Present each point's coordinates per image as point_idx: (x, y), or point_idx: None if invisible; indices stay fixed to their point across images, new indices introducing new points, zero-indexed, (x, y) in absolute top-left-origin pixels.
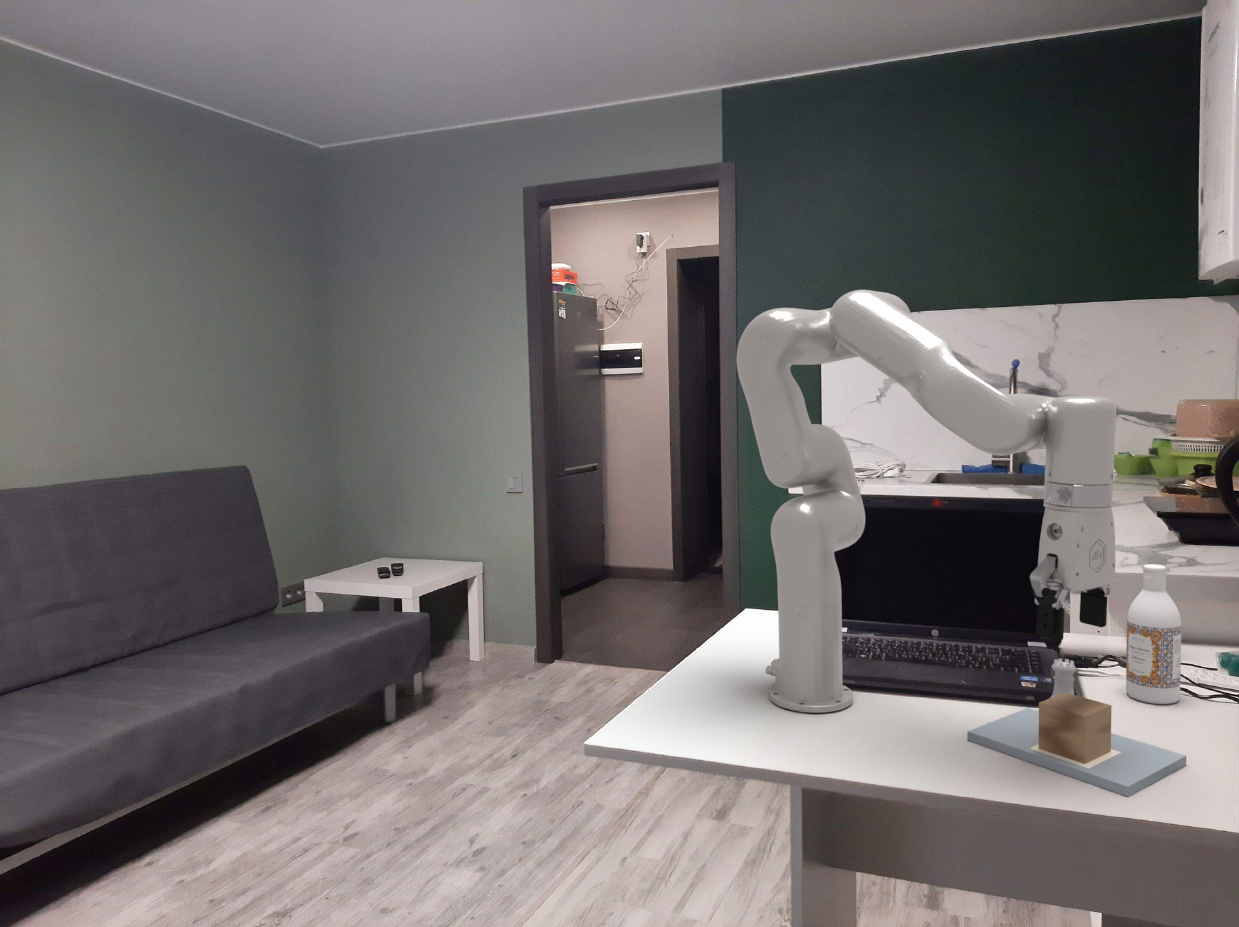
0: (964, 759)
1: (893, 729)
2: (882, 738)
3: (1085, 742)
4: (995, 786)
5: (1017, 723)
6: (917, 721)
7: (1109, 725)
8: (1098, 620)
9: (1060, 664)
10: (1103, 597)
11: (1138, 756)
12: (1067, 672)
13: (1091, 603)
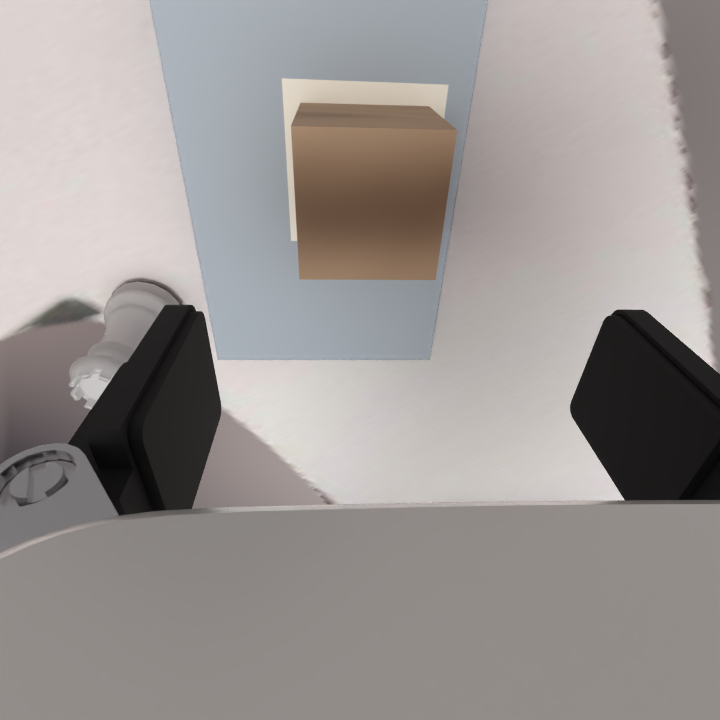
0: (518, 305)
1: (470, 433)
2: (518, 423)
3: (438, 115)
4: (611, 200)
5: (316, 328)
6: (410, 433)
7: (305, 114)
8: (197, 345)
9: None
10: (124, 438)
11: (266, 28)
12: (121, 361)
13: (179, 451)
